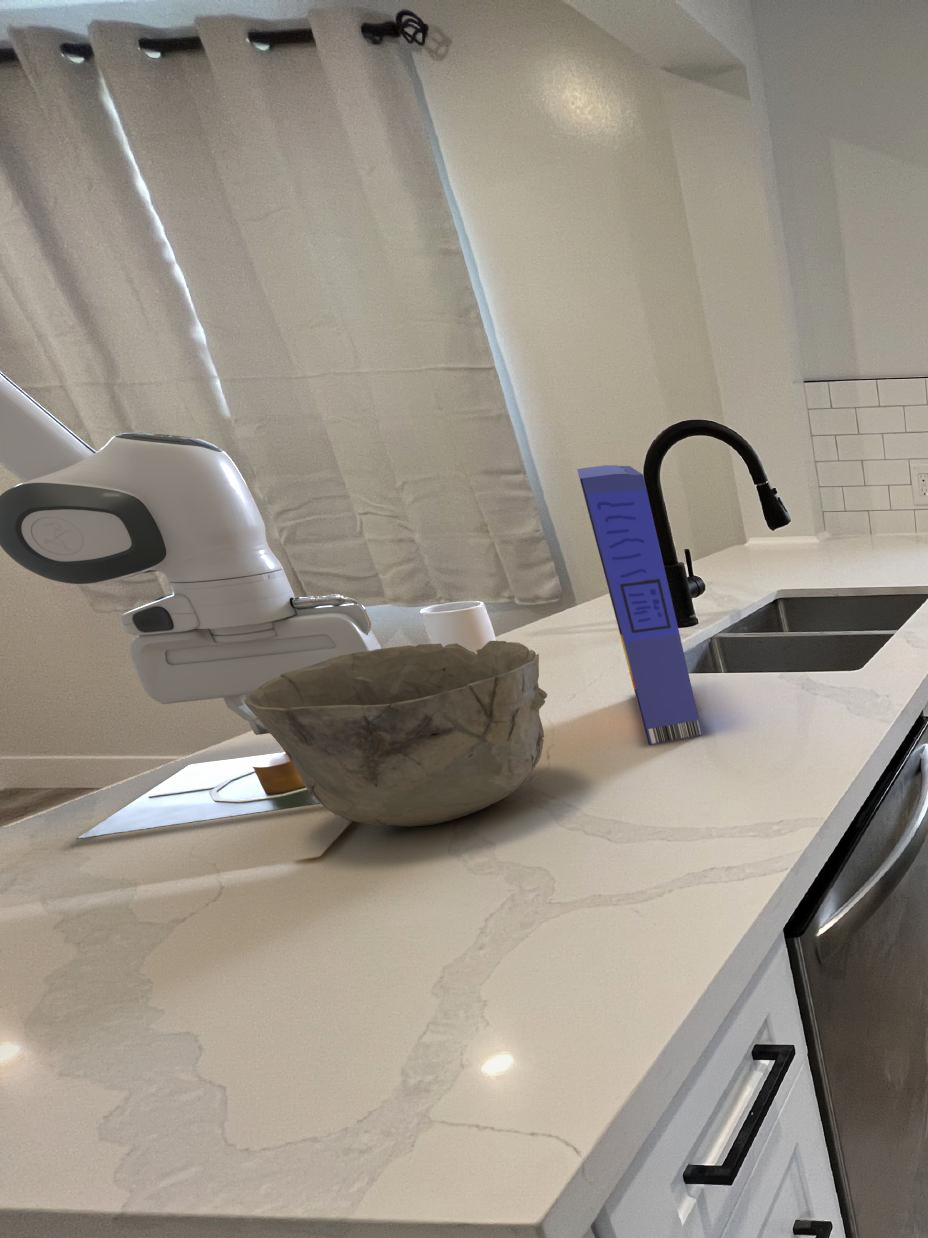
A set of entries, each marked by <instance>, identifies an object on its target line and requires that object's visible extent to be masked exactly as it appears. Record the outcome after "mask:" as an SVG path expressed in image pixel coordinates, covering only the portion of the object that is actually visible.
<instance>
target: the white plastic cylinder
mask: <svg viewBox="0 0 928 1238" xmlns="http://www.w3.org/2000/svg"><path fill="white" fill-rule="evenodd" d="M420 614H421V617H422V621H423V624H424V628H425V631H426V634H427V637H428V639H429V643H430V644H441V645H442V646H443V647H445V646H446V645H448V644H455V643H457V644H459V645H461V646H462V647H464V648H466V649H467V650H469V651H471V652H474V653H475V654H477V650H479V649H482V648H483V647H484V646H485V645H486V644H487V643H488V642H489V641H497V638H496V635H495V631H494V627H493V624H492V621H491V618H490V616H489V615H490V614H489V613H488V610H487V607H486V604H485V603H484V602H483V601H478V600H466V601H454V602H447V603H440V604H435V605H431V606H428V607H427V606H426V607H424V608H422V609H421V610H420Z"/></svg>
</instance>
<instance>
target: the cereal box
mask: <svg viewBox="0 0 928 1238" xmlns="http://www.w3.org/2000/svg"><path fill="white" fill-rule="evenodd" d="M576 471H577V474H578V479H579V483H580V486H581V490H582V493H583V494H582V495H583V498H584V502H585V505H586V509H587V513H588V517H589V520H590V524H591V529H592V532H593V536H594V541H595V544H596V548H597V552H598V556H599V560H600V563H601V567H602V571H603V575H604V579H605V583H606V587H607V590H608V591H607V592H608V594H609V598H610V602H611V605H612V610H613V614H614V618H615V621H616V626H617V629H618V633H619V637H620V641H621V645H622V649H623V652H624V656H625V661H626V665H627V668H628V671H629V676H630V679H631V683H632V687H633V691H634V695H635V698H636V702H637V706H638V709H639V713H640V717H641V721H642V724H643V728H644V732H645V736H646V739H647V744H648V745H649V746H651V745H657V744H662V743H667V742H673V741H678V740H684V739H690V738H694V737H695V738H696V737H699V736H703V731H702V727H701V722H700V717H699V713H698V709H697V704H696V701H695V697H694V696H695V695H694V692H693V686H692V682H691V679H690V675H689V669H688V666H687V659H686V657H685V653H684V648H683V643H682V638H681V634H680V630H679V626H678V620H677V617H676V613H675V609H674V603H673V600H672V594H671V590H670V586H669V582H668V578H667V573H666V569H665V564H664V560H663V556H662V551H661V546H660V541H659V538H658V533H657V529H656V525H655V521H654V517H653V511H652V508H651V503H650V499H649V494H648V490H647V485H646V481H645V477H644V476H645V475H644V474H643V473H641V472H640V471H638V470H637V469H635V468H634V467H632V466H631V465H618V464H617V465H616V464H615V465H614V464H612V465H610V464H609V465H605V464H604V465H597V466H590V467H582V468H576Z"/></svg>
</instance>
